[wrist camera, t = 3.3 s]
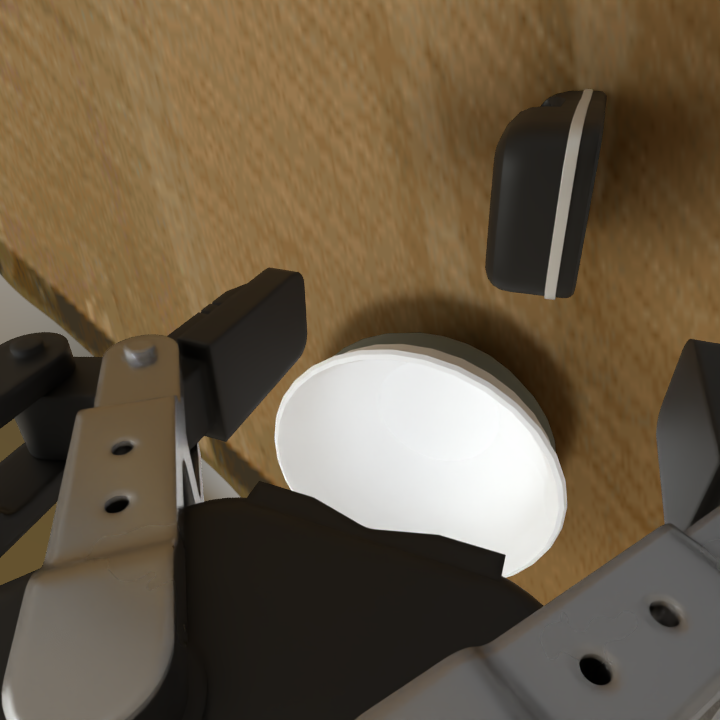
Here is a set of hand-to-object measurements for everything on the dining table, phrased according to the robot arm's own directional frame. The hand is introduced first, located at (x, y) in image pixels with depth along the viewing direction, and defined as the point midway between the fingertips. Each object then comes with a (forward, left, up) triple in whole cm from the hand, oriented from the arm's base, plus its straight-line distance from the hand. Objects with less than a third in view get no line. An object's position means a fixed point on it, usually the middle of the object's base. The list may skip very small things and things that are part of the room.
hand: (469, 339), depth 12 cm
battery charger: (0, +1, -22) cm, 22 cm away
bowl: (+5, +19, -22) cm, 29 cm away
